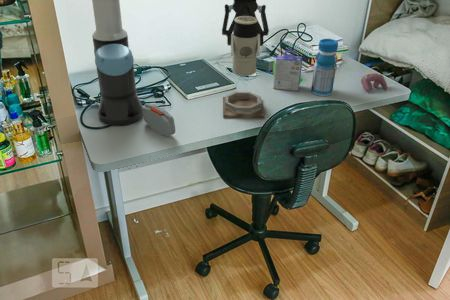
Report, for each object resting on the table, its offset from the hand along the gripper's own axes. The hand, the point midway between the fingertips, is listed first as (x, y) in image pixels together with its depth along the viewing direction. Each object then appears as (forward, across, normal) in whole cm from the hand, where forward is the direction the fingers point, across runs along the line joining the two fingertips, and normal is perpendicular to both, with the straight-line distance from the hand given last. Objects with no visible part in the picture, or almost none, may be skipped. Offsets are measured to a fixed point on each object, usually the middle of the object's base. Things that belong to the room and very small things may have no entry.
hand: (245, 54), depth 144 cm
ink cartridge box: (0, -18, -30) cm, 35 cm away
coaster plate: (+13, 0, -18) cm, 22 cm away
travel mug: (+3, 0, -8) cm, 8 cm away
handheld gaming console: (+24, +28, -6) cm, 38 cm away
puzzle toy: (-8, -17, -39) cm, 43 cm away
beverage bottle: (+3, -31, -28) cm, 42 cm away
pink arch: (+1, -52, -30) cm, 60 cm away
